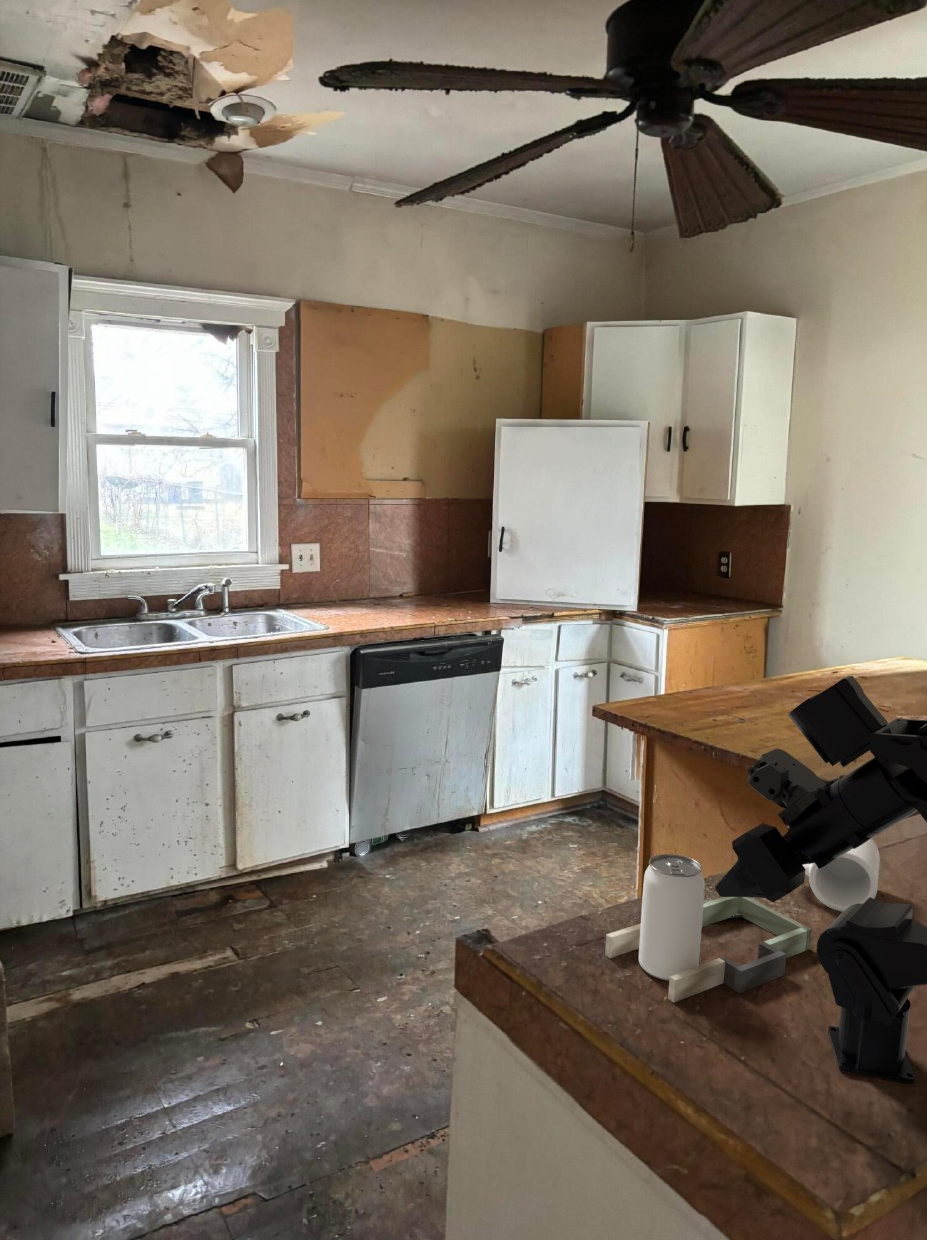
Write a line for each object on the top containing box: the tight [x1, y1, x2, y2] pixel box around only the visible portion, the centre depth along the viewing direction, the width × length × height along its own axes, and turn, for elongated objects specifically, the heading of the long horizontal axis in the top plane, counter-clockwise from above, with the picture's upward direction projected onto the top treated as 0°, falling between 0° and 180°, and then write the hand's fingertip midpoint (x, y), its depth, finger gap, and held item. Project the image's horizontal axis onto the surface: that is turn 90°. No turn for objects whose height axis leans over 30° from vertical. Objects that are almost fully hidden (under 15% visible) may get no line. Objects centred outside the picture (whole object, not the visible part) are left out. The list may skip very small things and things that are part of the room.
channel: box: [604, 897, 813, 1004], centre depth 101 cm, size 22×15×2 cm
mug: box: [803, 838, 880, 913], centre depth 117 cm, size 12×10×8 cm
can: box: [638, 853, 705, 982], centre depth 97 cm, size 6×6×12 cm
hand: (740, 878), depth 91 cm, fingers open, 9 cm apart
